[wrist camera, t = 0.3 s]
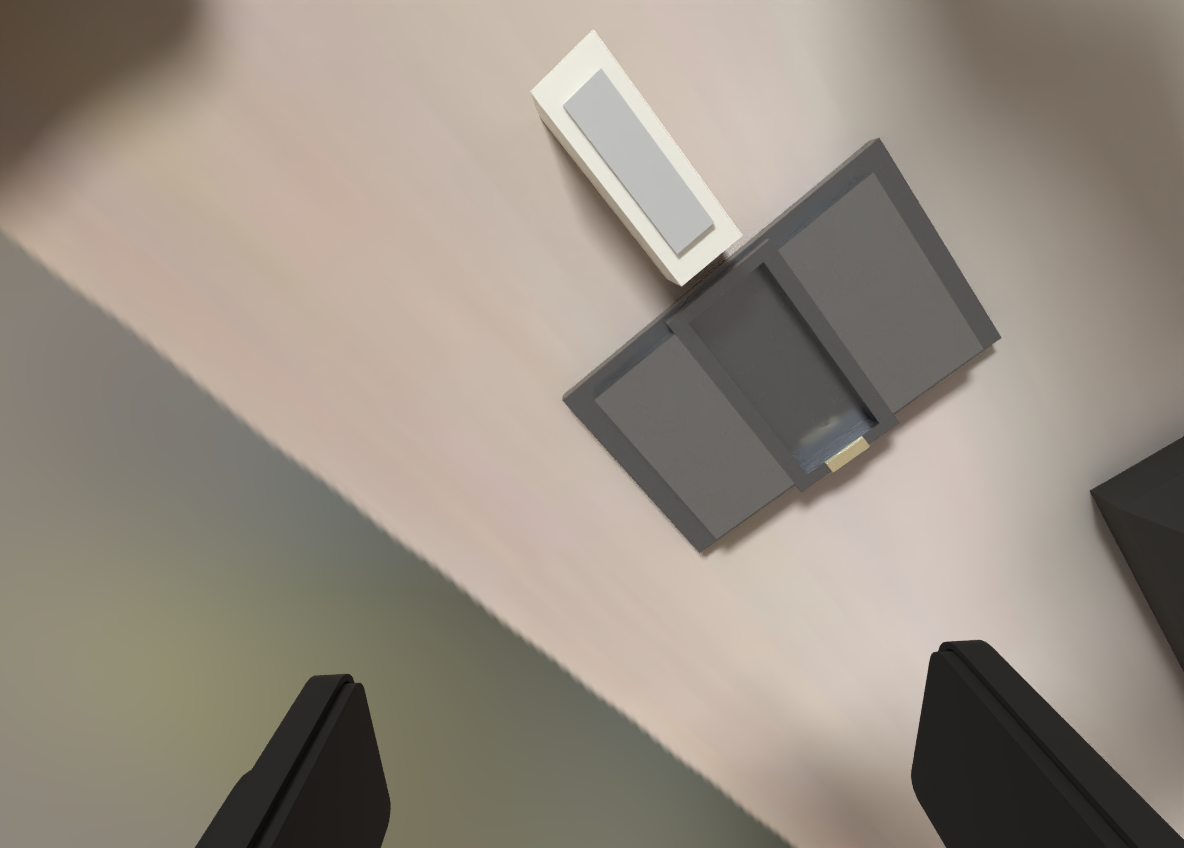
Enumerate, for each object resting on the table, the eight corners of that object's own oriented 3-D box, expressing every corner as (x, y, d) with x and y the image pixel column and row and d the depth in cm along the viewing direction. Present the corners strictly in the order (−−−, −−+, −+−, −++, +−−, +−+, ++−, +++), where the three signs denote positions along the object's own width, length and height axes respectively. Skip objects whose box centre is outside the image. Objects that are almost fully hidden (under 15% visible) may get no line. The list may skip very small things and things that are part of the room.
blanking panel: (592, 66, 32) (593, 26, 26) (716, 236, 35) (743, 235, 29) (539, 117, 33) (529, 90, 27) (666, 278, 36) (682, 287, 30)
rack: (869, 141, 33) (896, 132, 30) (988, 334, 37) (1022, 342, 34) (563, 395, 38) (561, 408, 35) (696, 543, 41) (704, 566, 39)
